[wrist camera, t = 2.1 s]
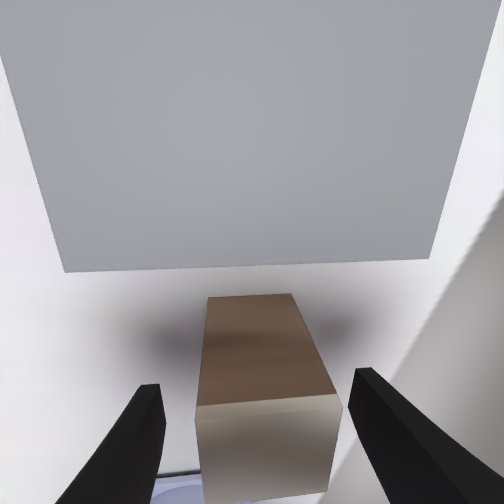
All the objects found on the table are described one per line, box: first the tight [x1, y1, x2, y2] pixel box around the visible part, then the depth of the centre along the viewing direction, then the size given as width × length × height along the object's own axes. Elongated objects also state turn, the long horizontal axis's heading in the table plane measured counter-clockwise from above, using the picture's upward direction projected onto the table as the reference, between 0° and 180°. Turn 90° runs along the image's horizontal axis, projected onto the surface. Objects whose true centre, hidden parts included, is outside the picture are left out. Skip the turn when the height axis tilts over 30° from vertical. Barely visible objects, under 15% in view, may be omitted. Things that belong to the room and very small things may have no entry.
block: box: [195, 294, 343, 504], centre depth 10 cm, size 4×4×6 cm
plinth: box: [0, 0, 502, 273], centre depth 8 cm, size 10×12×3 cm
